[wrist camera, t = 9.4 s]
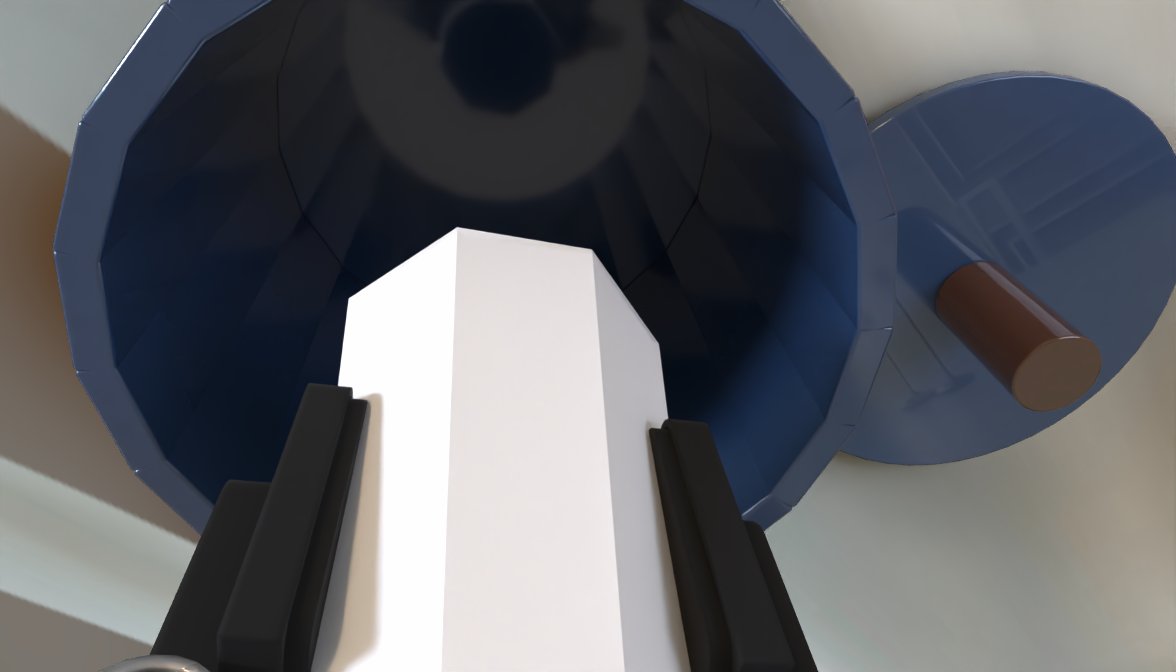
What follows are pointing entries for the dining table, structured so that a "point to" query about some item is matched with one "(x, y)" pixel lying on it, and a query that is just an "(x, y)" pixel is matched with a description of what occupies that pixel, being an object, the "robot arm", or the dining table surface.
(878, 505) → the dining table surface
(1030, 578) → the dining table surface
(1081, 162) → the lid
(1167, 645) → the dining table surface
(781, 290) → the pot
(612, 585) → the salt shaker
